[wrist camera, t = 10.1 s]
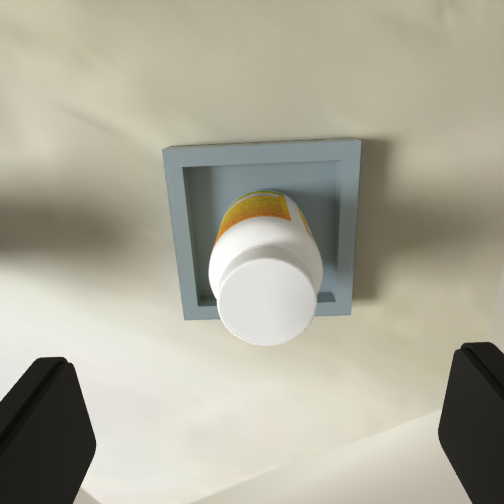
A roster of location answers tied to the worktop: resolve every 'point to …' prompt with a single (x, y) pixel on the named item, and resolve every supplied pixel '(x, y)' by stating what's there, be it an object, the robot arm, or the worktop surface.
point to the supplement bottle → (265, 269)
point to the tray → (264, 178)
